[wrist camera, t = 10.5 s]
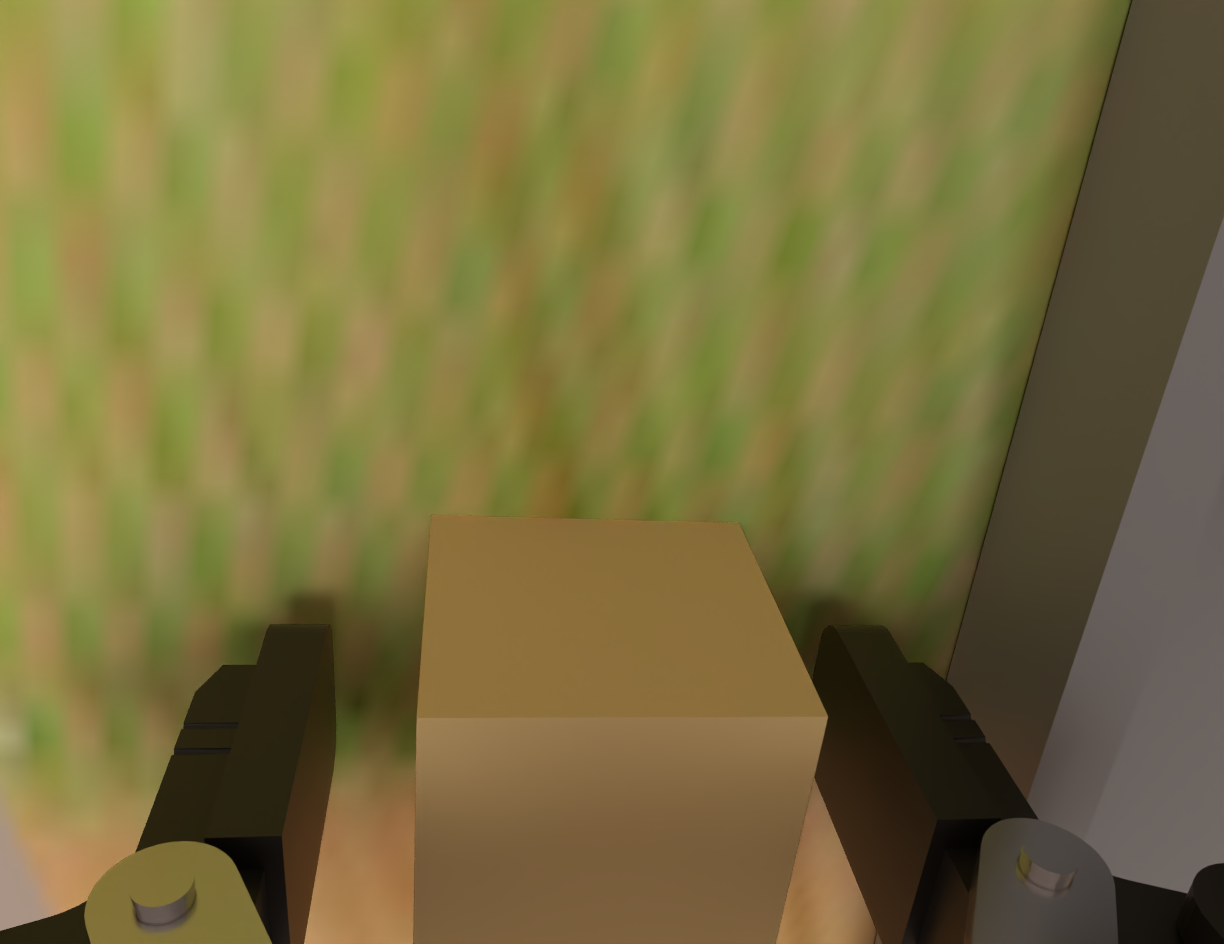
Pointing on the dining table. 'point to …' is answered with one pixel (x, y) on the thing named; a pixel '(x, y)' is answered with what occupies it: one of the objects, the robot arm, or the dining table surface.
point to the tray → (1122, 487)
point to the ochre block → (606, 736)
